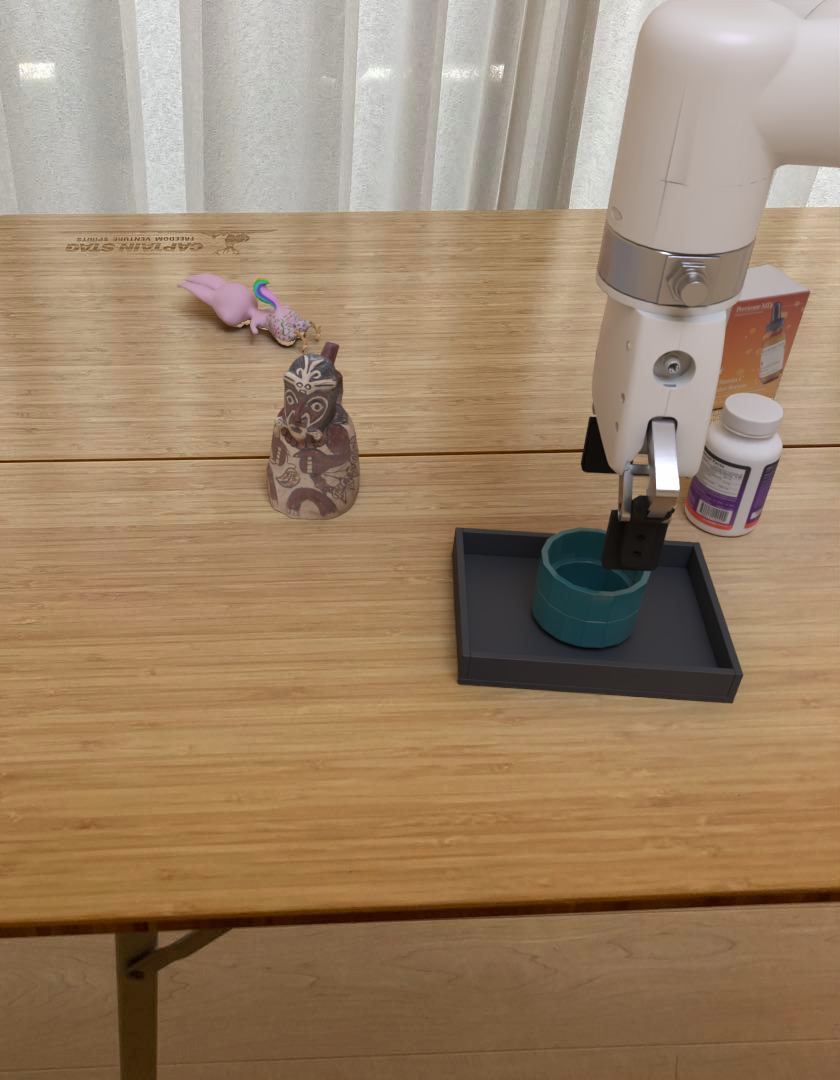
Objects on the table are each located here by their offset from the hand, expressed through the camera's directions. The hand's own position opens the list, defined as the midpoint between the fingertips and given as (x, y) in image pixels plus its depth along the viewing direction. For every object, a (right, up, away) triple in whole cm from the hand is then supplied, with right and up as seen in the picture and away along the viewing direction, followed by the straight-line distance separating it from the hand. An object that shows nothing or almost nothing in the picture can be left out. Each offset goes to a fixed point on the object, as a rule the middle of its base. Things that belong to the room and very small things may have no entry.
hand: (615, 516), depth 69 cm
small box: (+18, +12, +30) cm, 36 cm away
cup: (-1, -7, +5) cm, 8 cm away
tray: (-1, -7, +5) cm, 9 cm away
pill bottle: (+12, 0, +15) cm, 19 cm away
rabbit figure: (-25, +19, +37) cm, 48 cm away
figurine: (-19, +2, +17) cm, 25 cm away
